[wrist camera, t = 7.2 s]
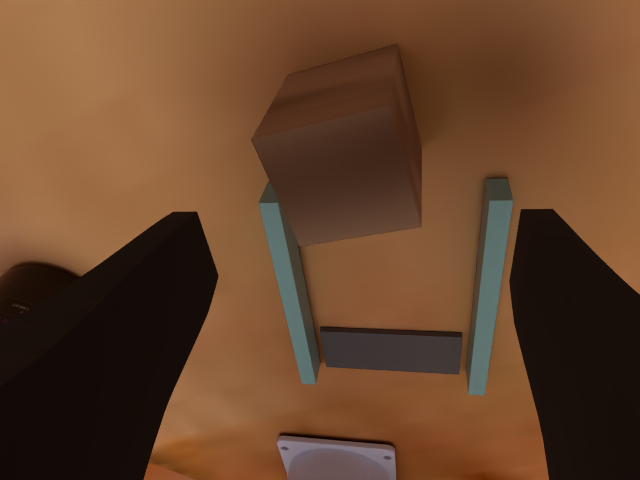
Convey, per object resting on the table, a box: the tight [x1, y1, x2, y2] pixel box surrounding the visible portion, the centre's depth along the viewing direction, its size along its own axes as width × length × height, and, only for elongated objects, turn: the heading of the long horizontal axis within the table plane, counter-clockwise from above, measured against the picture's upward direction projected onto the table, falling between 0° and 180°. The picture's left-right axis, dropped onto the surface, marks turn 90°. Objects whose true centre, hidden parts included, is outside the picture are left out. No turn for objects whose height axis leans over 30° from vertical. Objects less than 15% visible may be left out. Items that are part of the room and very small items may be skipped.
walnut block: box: [251, 44, 422, 247], centre depth 16 cm, size 4×4×5 cm
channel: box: [259, 178, 513, 395], centre depth 23 cm, size 12×10×2 cm
